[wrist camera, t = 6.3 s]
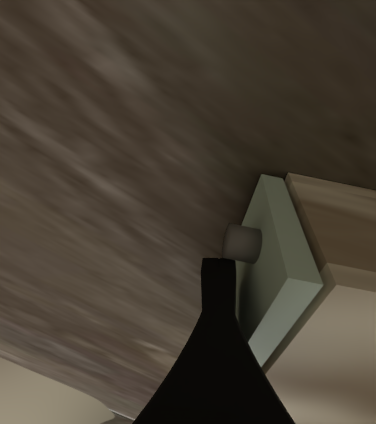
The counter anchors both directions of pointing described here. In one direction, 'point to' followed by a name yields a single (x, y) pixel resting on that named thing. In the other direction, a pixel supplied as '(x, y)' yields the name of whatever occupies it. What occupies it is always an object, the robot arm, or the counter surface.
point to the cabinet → (332, 310)
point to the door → (270, 267)
